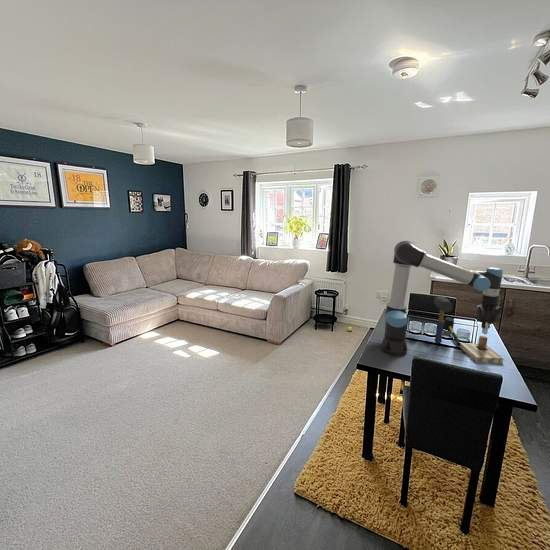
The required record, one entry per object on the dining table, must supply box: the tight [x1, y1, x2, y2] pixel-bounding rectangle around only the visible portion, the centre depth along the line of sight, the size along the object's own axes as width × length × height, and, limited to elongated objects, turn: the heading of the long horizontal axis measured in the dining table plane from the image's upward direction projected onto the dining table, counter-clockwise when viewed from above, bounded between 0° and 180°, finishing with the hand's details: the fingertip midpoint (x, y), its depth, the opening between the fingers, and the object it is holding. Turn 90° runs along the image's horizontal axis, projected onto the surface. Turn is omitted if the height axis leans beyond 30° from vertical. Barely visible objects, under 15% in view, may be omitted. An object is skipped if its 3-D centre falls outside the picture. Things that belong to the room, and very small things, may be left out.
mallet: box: [443, 316, 462, 348], centre depth 198 cm, size 29×6×10 cm, turn 164°
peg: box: [477, 335, 489, 350], centre depth 177 cm, size 4×4×10 cm
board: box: [459, 342, 504, 364], centre depth 175 cm, size 14×18×3 cm
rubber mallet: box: [433, 295, 453, 344], centre depth 187 cm, size 12×8×30 cm, turn 171°
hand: (484, 333), depth 175 cm, fingers closed
